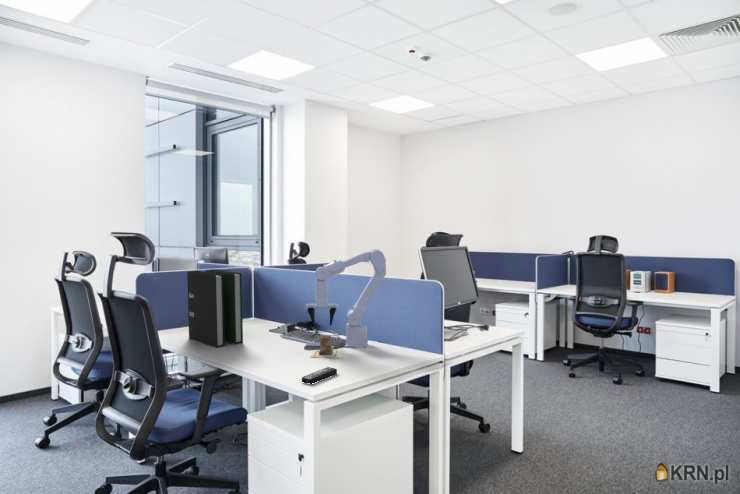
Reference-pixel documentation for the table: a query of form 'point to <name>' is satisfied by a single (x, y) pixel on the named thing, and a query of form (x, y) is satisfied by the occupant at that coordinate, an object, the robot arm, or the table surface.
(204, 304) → the binders
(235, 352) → the table surface
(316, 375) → the multiport hub
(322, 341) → the stamp
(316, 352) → the card
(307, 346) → the pad
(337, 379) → the table surface
